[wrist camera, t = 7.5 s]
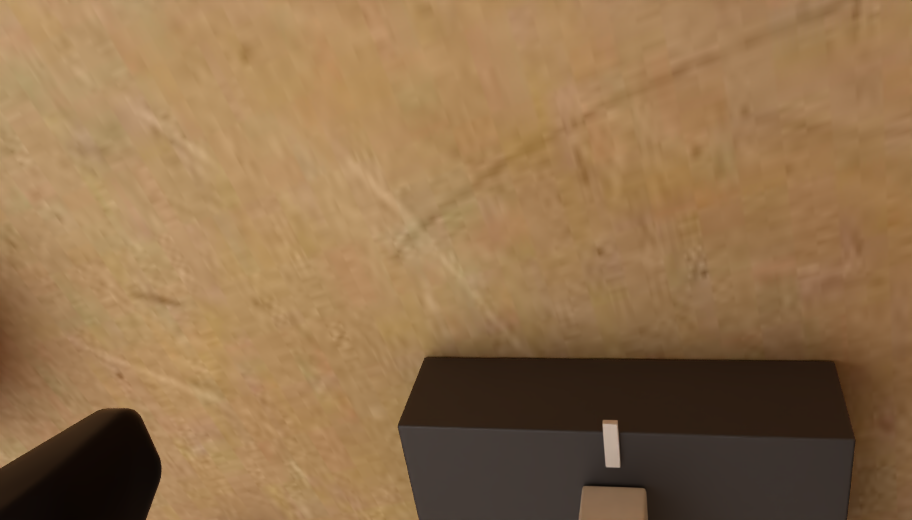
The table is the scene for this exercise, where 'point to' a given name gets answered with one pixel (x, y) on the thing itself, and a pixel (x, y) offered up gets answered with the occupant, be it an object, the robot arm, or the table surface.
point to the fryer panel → (628, 438)
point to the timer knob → (613, 503)
